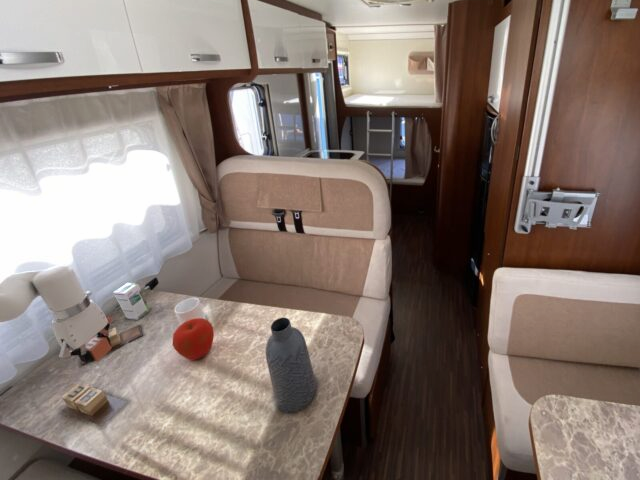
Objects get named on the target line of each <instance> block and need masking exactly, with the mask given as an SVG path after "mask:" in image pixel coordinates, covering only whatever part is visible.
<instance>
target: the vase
mask: <svg viewBox="0 0 640 480" xmlns="http://www.w3.org/2000/svg"><path fill="white" fill-rule="evenodd" d="M270 332H271V334H270V336H269V338H268V339H267V342H266V344H265V360H266V364H267V369H268V375H269V378H270V382H271V386H272V391H273V395H274V400H275V404H276V406H277V407H278V408H279V409H280V410H281V411H282V412H285V413H290V414H291V413H296V412H299V411H302V410H303V409H305V408H306V407H307V406H308V405H310V403H311V402H312V401H313V399H314V397H315V395H316V391H317V380H316V377H315V374H314V369H313V364H312V361H311V357H310V354H309V350H308V345H307V342H306V339H305V337H304V335H303V333H302V332H301V330H299V329H298V328H297V327H294V326H292V323H291V320H290V319H289V318H287V317H280V318H277V319H275V320H274V321H273V322H272V323H271V325H270Z"/></svg>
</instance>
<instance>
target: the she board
mask: <svg viewBox="0 0 640 480" xmlns="http://www.w3.org/2000/svg"><path fill="white" fill-rule="evenodd" d="M61 399H62V400H63V401H64V403H65V405H66V406H65V408H63V409H62V412H64V413H65V414H66V413H67V414H69V415H72V416H75V417H77V418H79V419H82V420H85V421H87V422H90V423H92V424H95V425H98V426H101V427H104V426H105V424H107V422H109V421H110V420H111V419H112V418H113V417H114V416H115V415H116V414H117V413H118V412H119V411H120V410H121V409H122V408H123V407H124V406H125V405H126V404H127V403H128V401H127V400H124V399H120V398H118V397H115V396H112V395H109V394H107V393H104V391H103V390H101V389H98V388H95V387H94V386H93V387H91V386H90V385H86V384H84V383H81V382H79V383H77V384H76V385H75V386H74V387H73V388H71V389H70V390H69V391H68V392H66V393H65V394H64V395H63V396H62V397H61Z"/></svg>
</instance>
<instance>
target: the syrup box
mask: <svg viewBox="0 0 640 480" xmlns="http://www.w3.org/2000/svg"><path fill="white" fill-rule="evenodd" d="M113 295H114V297H115V299H116V300H117V303H118V304H119V307H120V308H121V311H122V312H123V314H124V316H125V318H126V319H129V320H140V319H141V318H142V317H143V316H145V315H146V314H147V313H148V312H149V311H150V310H151V308H150V307H149V305H148V303H147V300H146V298H145V296H144V293H143V292H142V290H141V287H140V285H139V284H138V283H135V282H126V283H125V284H124V285H122V286H120V287H119V288H118V289H116V290H114V291H113Z"/></svg>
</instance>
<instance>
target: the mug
mask: <svg viewBox="0 0 640 480" xmlns="http://www.w3.org/2000/svg"><path fill="white" fill-rule="evenodd" d="M173 311H174V313H175V316H176V318H177V320H178V323H179V326H180V325H182V324H183V323H184V322H186V321H188V320H191V319H195V318H203V319H206V320H207V318H206V315H205V312H204V310H203V307H202V304H201V302H200V299H199V298H198V297H189V298H186V299H183V300H181V301H179V303H177V304H176V305H175V307H174V310H173Z"/></svg>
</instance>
